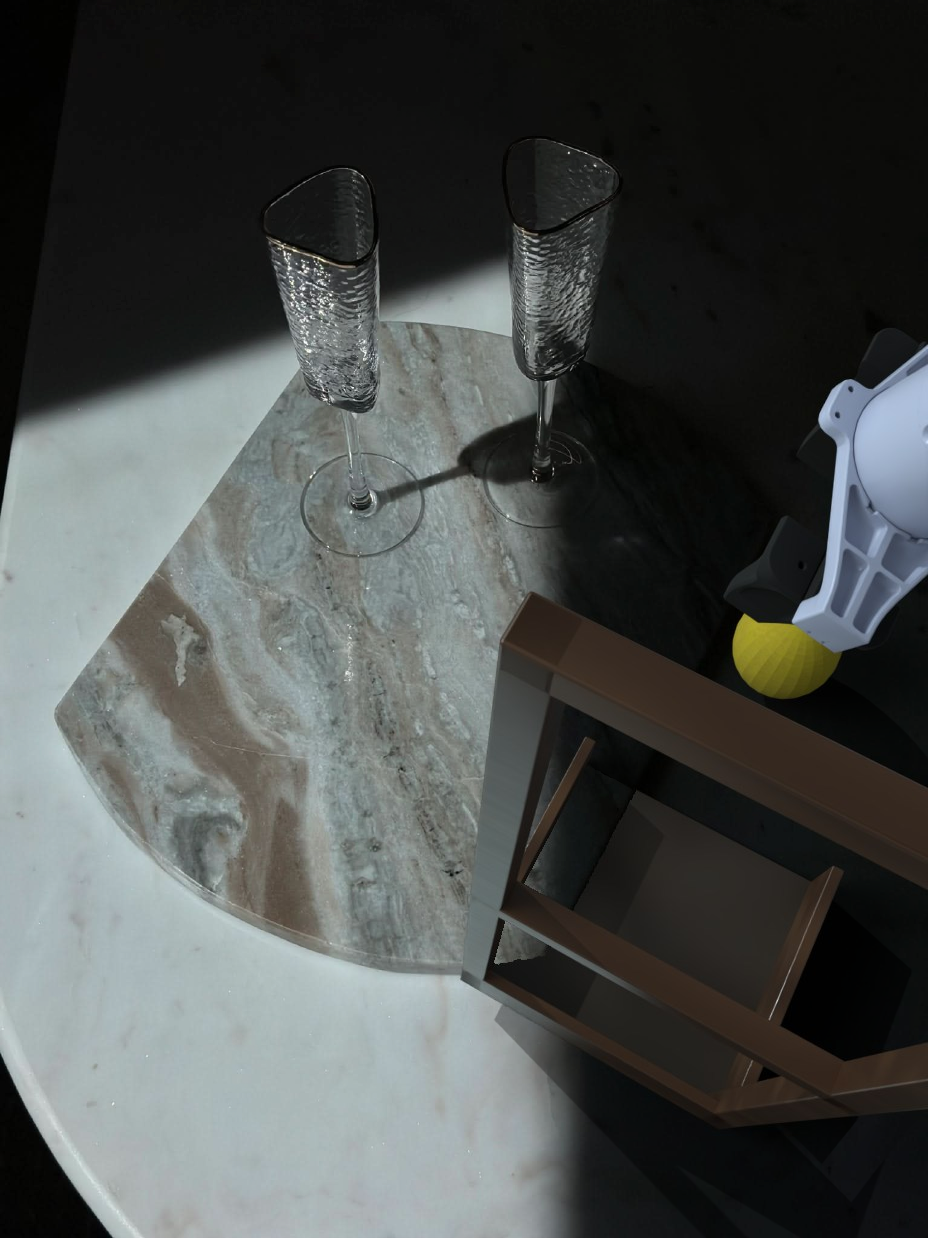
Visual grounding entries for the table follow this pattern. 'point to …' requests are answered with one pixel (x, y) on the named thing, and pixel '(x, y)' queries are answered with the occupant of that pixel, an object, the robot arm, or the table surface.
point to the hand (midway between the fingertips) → (781, 531)
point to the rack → (679, 883)
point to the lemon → (781, 659)
